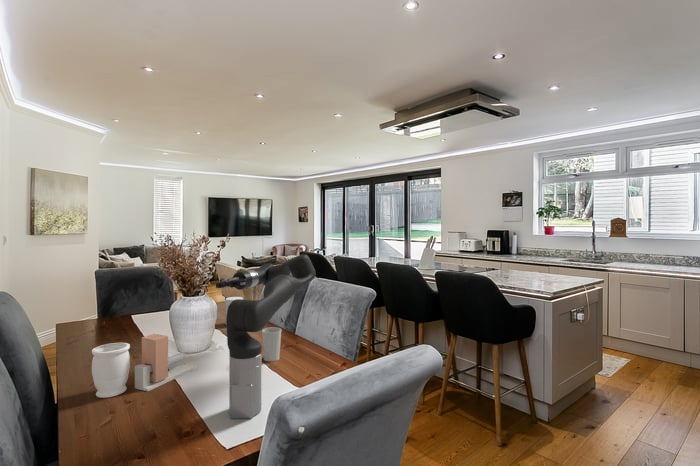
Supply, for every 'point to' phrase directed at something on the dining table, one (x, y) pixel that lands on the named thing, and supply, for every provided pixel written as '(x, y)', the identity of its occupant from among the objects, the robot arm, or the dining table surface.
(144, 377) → the pipe stand
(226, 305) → the supplement tub
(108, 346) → the jar
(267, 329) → the cup
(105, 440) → the dining table surface
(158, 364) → the salmon pink rectangular block
